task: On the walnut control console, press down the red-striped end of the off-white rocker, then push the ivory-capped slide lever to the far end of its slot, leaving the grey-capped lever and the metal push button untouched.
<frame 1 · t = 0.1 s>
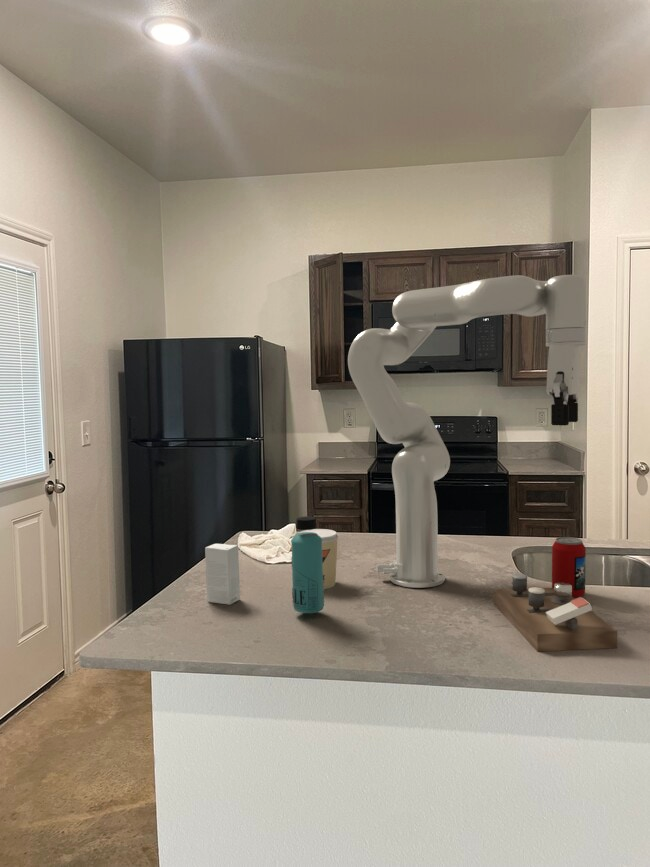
hand: (564, 423, 135), 37 cm above the counter, tool pointing down, fingers open, 9 cm apart
coffee cup: (318, 585, 153), on the counter
rocker: (568, 610, 117), point 6 cm above the counter, hinge at -20.0°
button: (563, 590, 129), point 5 cm above the counter, slide at 0.0 cm
beverage bottle: (308, 616, 133), on the counter
beverage can: (568, 595, 142), on the counter
console: (549, 624, 126), on the counter
lever ivory: (536, 599, 124), point 5 cm above the counter, slide at 0.0 cm
lever grey: (519, 584, 133), point 5 cm above the counter, slide at 0.0 cm
skincare box: (223, 601, 143), on the counter
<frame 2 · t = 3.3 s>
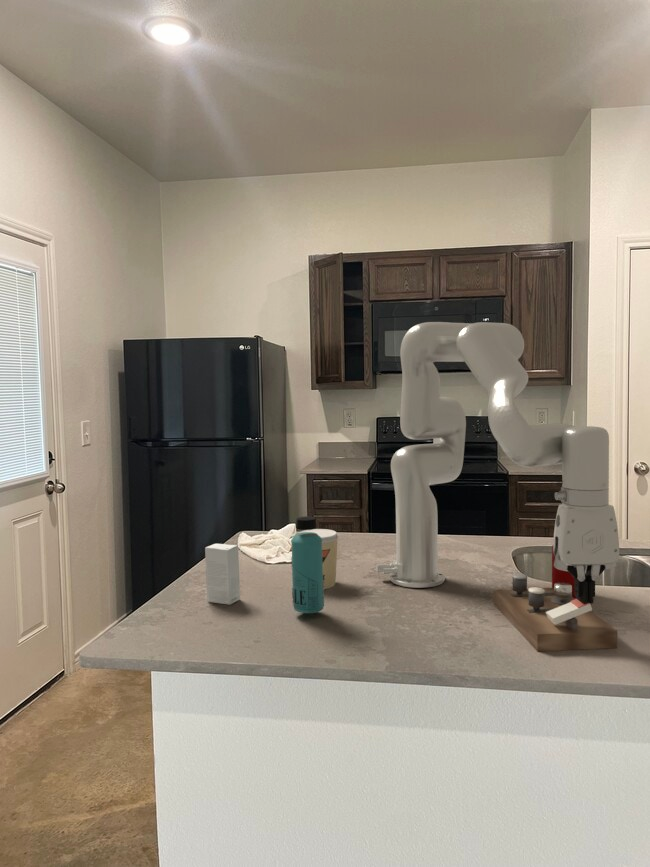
hand: (584, 601, 116), 7 cm above the counter, tool pointing down, fingers closed
rocker: (568, 610, 117), point 6 cm above the counter, hinge at -19.8°, touching gripper
everything else where it was.
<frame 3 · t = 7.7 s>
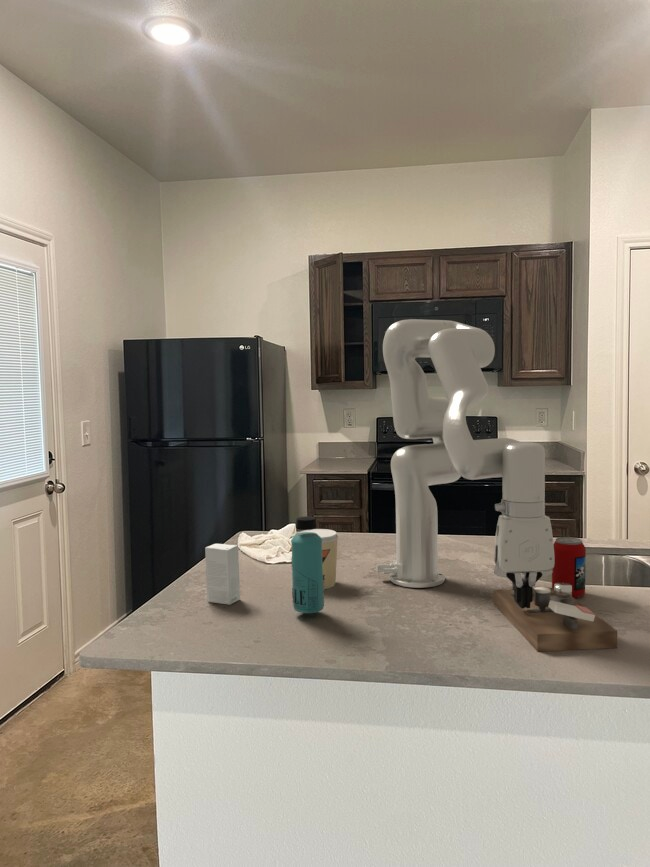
hand: (523, 605, 124), 4 cm above the counter, tool pointing down, fingers closed
rocker: (571, 610, 117), point 6 cm above the counter, hinge at 15.4°
lever ivory: (542, 599, 124), point 5 cm above the counter, slide at 1.1 cm, touching gripper
everything else where it was.
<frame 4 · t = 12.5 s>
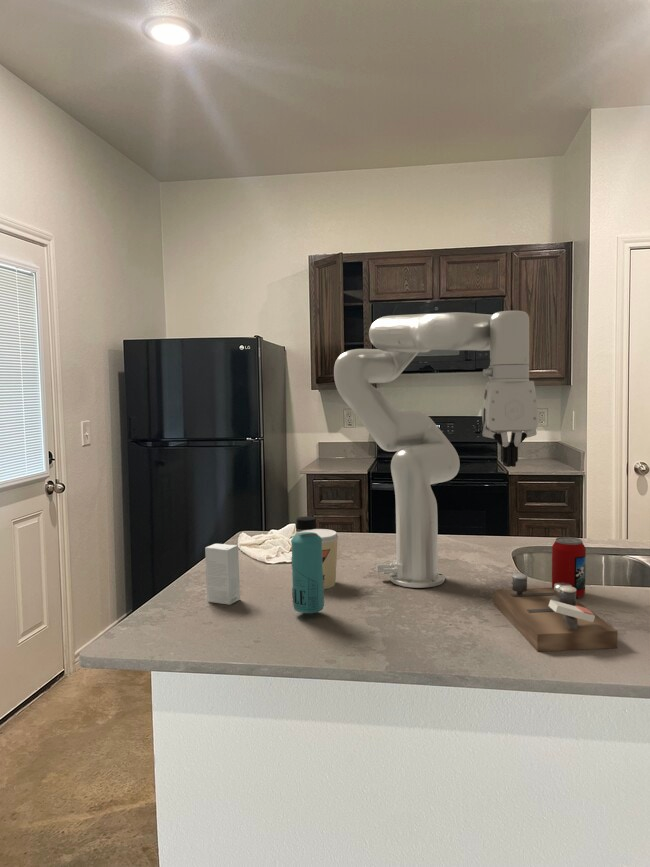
hand: (509, 465, 133), 29 cm above the counter, tool pointing down, fingers closed
rocker: (571, 610, 117), point 6 cm above the counter, hinge at 17.4°
lever ivory: (568, 598, 125), point 5 cm above the counter, slide at 6.1 cm
everything else where it was.
at the end: rocker at +17° (first picture: -20°); lever ivory slide at 6.1 cm; lever grey slide at 0.0 cm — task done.
